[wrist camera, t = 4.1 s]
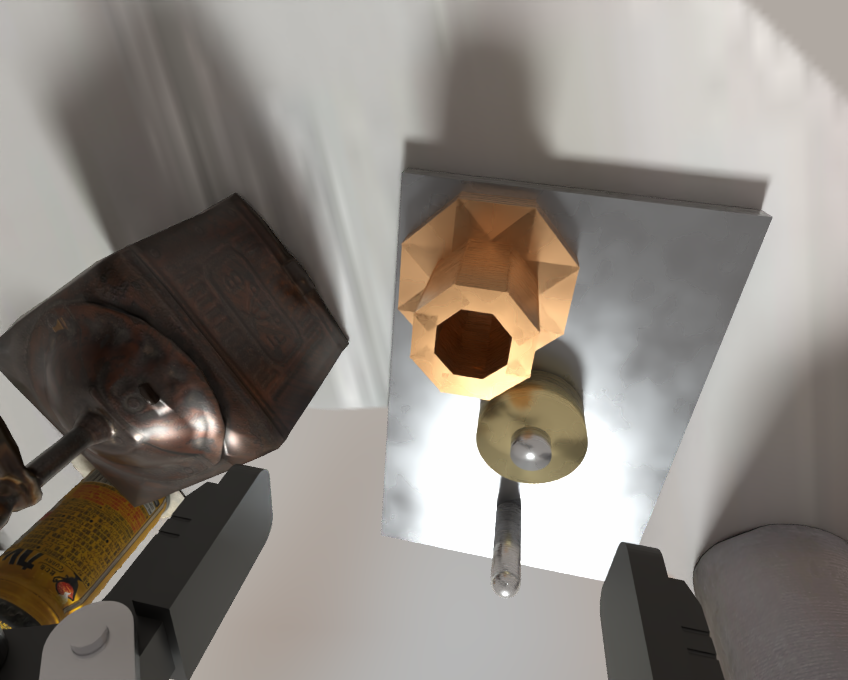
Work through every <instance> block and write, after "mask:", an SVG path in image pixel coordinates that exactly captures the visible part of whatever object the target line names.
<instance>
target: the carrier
mask: <svg viewBox="0 0 848 680" xmlns="http://www.w3.org/2000/svg"><path fill="white" fill-rule="evenodd" d="M461 191H464V192H472V193H481V194H489V195H497V196H505V197H513V198H521V199H530V200H536V202H537V203H538V205H539V206H540V207H541V209H542V210H543V211H544V213H545V214H546V216H547V217H548V218H549V220H550V221H551V222H552V224H553V225H554V226H555V228H556V229H557V231H558V232H559V233H560V235H561V236H562V237H563V239H564V240H565V241H566V243H567V244H568V246H569V247H570V248H571V250H572V251H573V252H574V254H575V255H576V256H577V258H578V262H579V267H580V269H579V272H578V276H577V280H576V284H575V289H574V293H573V297H572V301H571V305H570V310H569V314H568V318H567V322H566V326H565V331H564V335H561V336H560V337H558V338H556V339H555V340H553V341H551V342H550V343H548V344H546V345H544V346H543V347H541V348H539V349H538V350H536V351H535V354H534V359H533V364H532V369H531V377H530V378H527V379H525V380H524V381H522V382H520V383H518V384H517V385H515V386H513V387H511V388H510V389H508V390H506V391H504V392H502V393H501V394H499V395H497V396H495V397H494V398H492V399H490V400H485V399H479V398H473V397H467V396H462V395H456V394H450V393H444V392H440V390H439V389H438V388H437V387H436V386H435V385H434V383H433V382H432V381H431V380H430V379H429V378H428V377H427V376H426V375H425V373H424V372H423V371H422V370H421V369H420V368H419V367H418V366H417V365H416V363H415V362H414V361H413V360H412V359H410V357H409V356H410V353H411V340H412V328H413V326H412V324H411V323H410V322H409V321H408V320H407V319H406V318H405V316H404V315H403V314H402V313H401V312H400V311H399V310H398V300H399V284H400V268H401V252H402V245H401V244H402V242H403V241H404V239H405V238H406V237H407V235H408V234H410V233H411V232H412V231H413V230H415V229H416V228H417V227H418V226H420V225H421V224H422V223H423V222H425V221H426V220H427V219H428V218H430V217H431V216H432V215H433V214H435V213H436V212H437V211H438V210H440V209H441V208H442V207H443V206H445V205H446V204H447V203H448V202H449V201H451V200H452V199H453V198H454V197H456V196H457V195H458V194H459V193H461ZM771 220H772V216H770V215H768V214H767V213H765V212H764V211H762V210H756V209H748V208H740V207H731V206H723V205H714V204H706V203H697V202H689V201H681V200H672V199H664V198H655V197H647V196H638V195H630V194H622V193H613V192H605V191H596V190H588V189H579V188H571V187H563V186H554V185H546V184H537V183H529V182H520V181H512V180H504V179H495V178H487V177H478V176H470V175H461V174H453V173H445V172H436V171H428V170H419V169H411V168H407V169H406V170H405V171H403V172H402V183H401V200H400V217H399V235H398V252H397V269H396V287H395V304H394V321H393V339H392V356H391V373H390V391H389V408H388V427H387V443H386V461H385V477H384V495H383V513H382V529H381V530H382V531H381V535H383V536H388V537H393V538H398V539H403V540H407V541H412V542H417V543H422V544H427V545H432V546H436V547H441V548H447V549H451V550H456V551H461V552H466V553H470V554H475V555H480V556H485V557H490V558H492V567H491V587H492V589H493V591H494V592H495V593H496V594H497V595H498V596H500V597H502V598H511V597H513V596H514V595H516V594H517V593H518V591H519V589H520V584H521V564H524V565H529V566H534V567H539V568H543V569H549V570H553V571H558V572H563V573H568V574H573V575H577V576H582V577H587V578H592V579H596V580H601V581H605V579H606V576H607V574H608V571H609V569H610V566H611V563H612V561H613V558H614V556H615V553H616V550H617V548H618V545H619V544H620V543H621V542H627V543H632V544H637V545H639V543H640V540H641V538H642V536H643V533H644V531H645V528H646V526H647V523H648V521H649V518H650V516H651V514H652V511H653V509H654V506H655V504H656V501H657V499H658V496H659V494H660V491H661V489H662V487H663V484H664V482H665V479H666V477H667V474H668V472H669V469H670V467H671V465H672V462H673V460H674V457H675V455H676V452H677V450H678V447H679V445H680V443H681V440H682V438H683V435H684V433H685V430H686V428H687V425H688V423H689V420H690V418H691V416H692V413H693V411H694V408H695V406H696V403H697V401H698V398H699V396H700V394H701V391H702V389H703V386H704V384H705V381H706V379H707V376H708V374H709V371H710V369H711V367H712V364H713V362H714V359H715V357H716V354H717V352H718V349H719V347H720V345H721V342H722V340H723V337H724V335H725V332H726V330H727V327H728V325H729V323H730V320H731V318H732V315H733V313H734V310H735V308H736V305H737V303H738V300H739V298H740V296H741V293H742V291H743V288H744V286H745V283H746V281H747V278H748V276H749V274H750V271H751V269H752V266H753V264H754V261H755V259H756V256H757V254H758V252H759V249H760V247H761V244H762V242H763V239H764V237H765V234H766V232H767V229H768V227H769V225H770V222H771Z"/></svg>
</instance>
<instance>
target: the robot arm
mask: <svg viewBox="0 0 848 680" xmlns="http://www.w3.org/2000/svg"><path fill="white" fill-rule="evenodd" d="M272 519H273V513H272V500H271V489H270V477H269V472H268V471H267V470H266V469H261V468H256V467H251V466H246V465H241V464H234V465H233V466H232V467H231V468H230V469H229V470H228V471H227V473H226V474H225V475H224V477H223V478H222V479H221V481H220V482H219V484H216V483H211V482H206V483H205V484H203V485H202V486H201V487H199V488H198V489H196V490H195V491H193V492H192V493H190V494H189V495H187V496H186V497H185V498H184V500H183V501H182V502H181V503H180V505H179V506H178V507H177V508H176V510H175V511H174V512H173V513H172V515H171V518H170V519H168V520H167V521H166V522H165V523H164V525H163V526H162V527H161V529H160V530H159V533H158V534H156V535H155V536H154V537H153V539H152V540H151V541H150V542H149V544H148V545H147V546H146V547H145V549H144V550H143V551H142V552H141V554H140V555H139V556H138V557H137V559H136V560H135V561H134V562H133V564H132V565H131V566H130V567H129V569H128V570H127V571H126V572H125V574H124V575H123V576H122V577H121V579H120V580H119V581H118V582H117V584H116V585H115V586H114V587H113V589H112V590H111V591H110V592H109V593H108V595H107V596H106V597H105V598H104V599H103V600H102V601H100V602H96V603H91V604H89V605H86V606H83V607H81V608H79V609H77V610H76V611H74V612H73V613H71V614H69V615H68V616H67V617H66V618H64V619H63V620H62V621H61V622H60V623H57V624H51V625H42V626H32V627H22V628H12V629H2V628H1V626H0V680H169V679H174V680H190V678H191V676H192V674H193V672H194V671H195V669H196V667H197V665H198V663H199V662H200V660H201V658H202V656H203V654H204V652H205V650H206V649H207V647H208V645H209V644H210V642H211V640H212V638H213V636H214V635H215V633H216V631H217V629H218V627H219V626H220V624H221V622H222V620H223V618H224V617H225V615H226V613H227V611H228V609H229V608H230V606H231V604H232V602H233V600H234V599H235V597H236V595H237V593H238V591H239V590H240V588H241V586H242V584H243V582H244V581H245V579H246V577H247V575H248V573H249V571H250V570H251V568H252V566H253V564H254V563H255V561H256V559H257V557H258V555H259V554H260V552H261V550H262V548H263V546H264V545H265V543H266V541H267V538H268V536H269V533H270V529H271V525H272ZM600 617H601V626H602V633H603V642H604V649H605V658H606V665H607V674H608V680H725V679H724V675H723V672H722V669H721V666H720V663H719V660H717V658H716V656H717V653H716V650H715V647H714V644H713V640H712V638H711V637H710V631H709V628H708V624H707V621H706V618H705V615H704V612H703V609H702V606H701V604H700V603H699V601H698V600H697V598H696V597H695V596H694V594H693V593H692V591H691V590H690V589H689V587H688V586H687V584H686V583H685V581H683V580H678V579H673V578H668V575H667V571H666V567H665V564H664V560H663V556H662V554H661V552H660V550H659V549H657V548H652V547H647V546H642V545H637V544H632V543H627V542H621V543H620V544H619V545H618V548H617V550H616V553H615V556H614V558H613V561H612V563H611V566H610V569H609V571H608V574H607V576H606V579H605V582H604V584H603V587H602V592H601V599H600Z"/></svg>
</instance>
